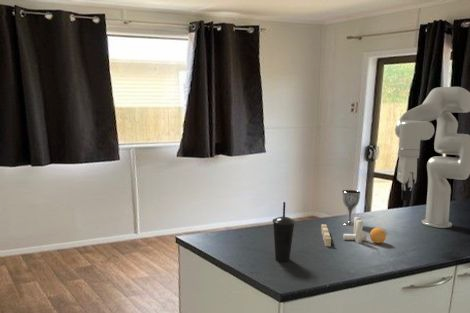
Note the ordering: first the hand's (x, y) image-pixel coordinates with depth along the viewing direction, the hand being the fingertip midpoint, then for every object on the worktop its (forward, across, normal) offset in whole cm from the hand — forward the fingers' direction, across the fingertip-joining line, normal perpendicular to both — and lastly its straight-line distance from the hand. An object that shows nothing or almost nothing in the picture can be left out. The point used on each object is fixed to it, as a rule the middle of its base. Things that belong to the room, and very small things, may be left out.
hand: (405, 200), depth 163 cm
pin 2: (+17, +2, -18) cm, 25 cm away
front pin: (+16, 0, -14) cm, 21 cm away
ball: (+14, +2, -10) cm, 18 cm away
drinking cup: (+17, +27, -47) cm, 57 cm away
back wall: (+17, 0, -30) cm, 35 cm away
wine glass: (+17, -25, -17) cm, 35 cm away
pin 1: (+17, -2, -18) cm, 25 cm away
